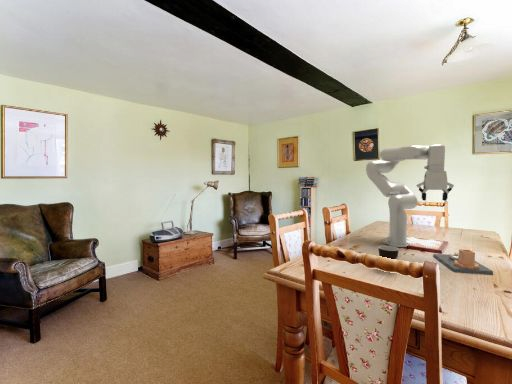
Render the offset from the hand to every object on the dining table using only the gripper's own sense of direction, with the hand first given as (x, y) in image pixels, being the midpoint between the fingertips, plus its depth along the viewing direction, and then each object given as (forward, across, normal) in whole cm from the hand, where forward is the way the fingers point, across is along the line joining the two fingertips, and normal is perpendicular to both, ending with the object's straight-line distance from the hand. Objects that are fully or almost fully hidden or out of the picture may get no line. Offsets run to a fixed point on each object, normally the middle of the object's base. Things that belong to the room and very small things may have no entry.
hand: (434, 200), depth 143 cm
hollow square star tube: (+29, +8, -19) cm, 35 cm away
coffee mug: (+30, -27, -25) cm, 48 cm away
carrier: (+30, +8, -13) cm, 34 cm away
